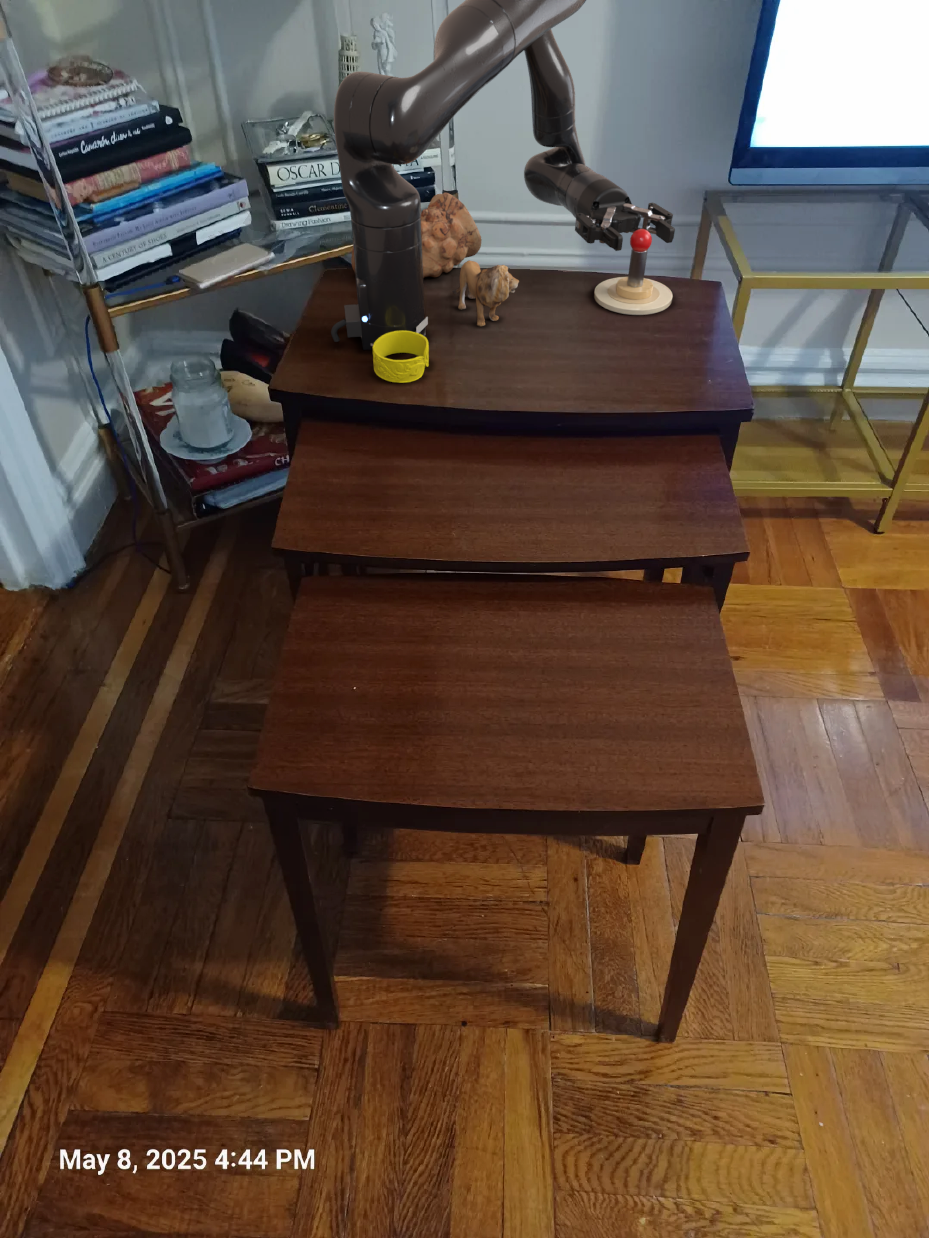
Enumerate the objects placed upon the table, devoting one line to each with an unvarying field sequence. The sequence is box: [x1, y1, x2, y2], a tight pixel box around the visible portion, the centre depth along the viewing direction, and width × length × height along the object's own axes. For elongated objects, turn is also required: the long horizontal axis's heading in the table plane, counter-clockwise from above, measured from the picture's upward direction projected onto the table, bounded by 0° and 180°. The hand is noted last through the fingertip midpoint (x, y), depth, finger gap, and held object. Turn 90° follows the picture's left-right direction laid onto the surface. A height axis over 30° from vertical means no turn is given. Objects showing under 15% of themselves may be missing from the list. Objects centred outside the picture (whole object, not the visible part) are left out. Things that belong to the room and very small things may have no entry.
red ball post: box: [616, 229, 653, 300], centre depth 133 cm, size 6×6×9 cm
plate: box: [593, 276, 674, 316], centre depth 137 cm, size 12×12×1 cm
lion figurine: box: [452, 259, 520, 327], centre depth 130 cm, size 15×5×9 cm, turn 33°
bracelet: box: [372, 331, 430, 384], centre depth 120 cm, size 7×8×3 cm
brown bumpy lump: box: [350, 192, 483, 279], centre depth 142 cm, size 19×11×15 cm
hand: (646, 240), depth 131 cm, fingers open, 8 cm apart
